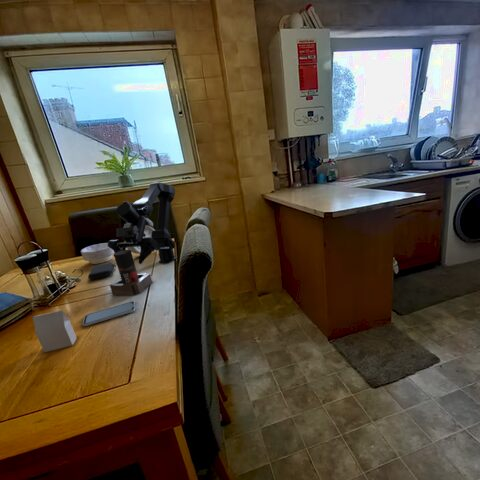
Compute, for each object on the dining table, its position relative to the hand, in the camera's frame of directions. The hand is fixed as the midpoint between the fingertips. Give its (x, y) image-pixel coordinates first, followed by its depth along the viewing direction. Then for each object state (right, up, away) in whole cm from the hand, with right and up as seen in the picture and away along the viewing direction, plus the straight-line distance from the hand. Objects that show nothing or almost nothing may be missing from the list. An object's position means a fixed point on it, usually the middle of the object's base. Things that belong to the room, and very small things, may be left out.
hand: (128, 264), depth 107 cm
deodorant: (+1, -10, +2) cm, 10 cm away
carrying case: (-22, -5, +22) cm, 32 cm away
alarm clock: (-12, +5, +45) cm, 46 cm away
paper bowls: (-35, +1, +43) cm, 55 cm away
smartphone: (+2, -16, -16) cm, 23 cm away
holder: (+1, -9, +2) cm, 10 cm away
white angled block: (-4, -22, -30) cm, 38 cm away
